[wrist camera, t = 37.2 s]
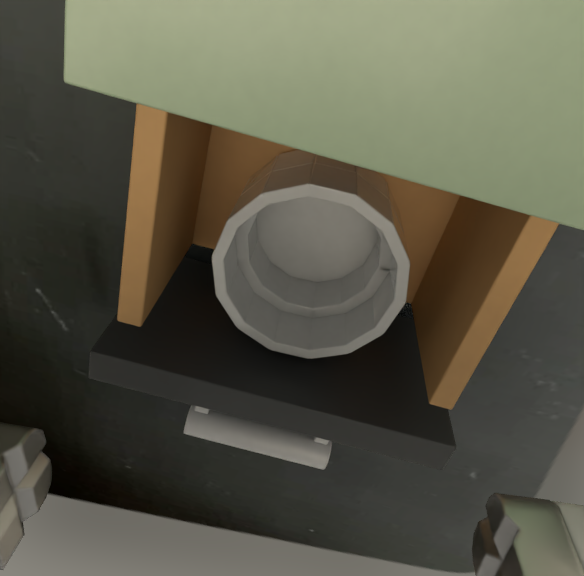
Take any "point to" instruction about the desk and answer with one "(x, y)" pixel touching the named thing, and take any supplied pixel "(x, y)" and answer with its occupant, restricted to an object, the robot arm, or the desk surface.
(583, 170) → the cabinet
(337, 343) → the steel bowl
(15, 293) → the desk surface
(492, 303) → the drawer
